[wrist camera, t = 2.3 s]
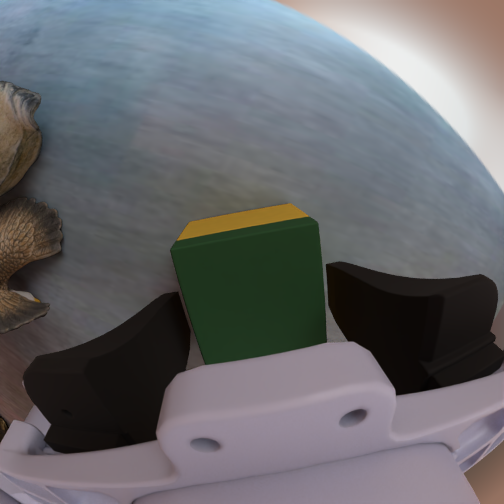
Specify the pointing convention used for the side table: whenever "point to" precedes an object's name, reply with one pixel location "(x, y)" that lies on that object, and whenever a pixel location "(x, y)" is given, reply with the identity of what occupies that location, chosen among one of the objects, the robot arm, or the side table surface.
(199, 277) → the sponge
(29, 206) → the eagle figurine
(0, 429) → the seashell
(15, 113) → the seashell
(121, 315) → the side table surface
